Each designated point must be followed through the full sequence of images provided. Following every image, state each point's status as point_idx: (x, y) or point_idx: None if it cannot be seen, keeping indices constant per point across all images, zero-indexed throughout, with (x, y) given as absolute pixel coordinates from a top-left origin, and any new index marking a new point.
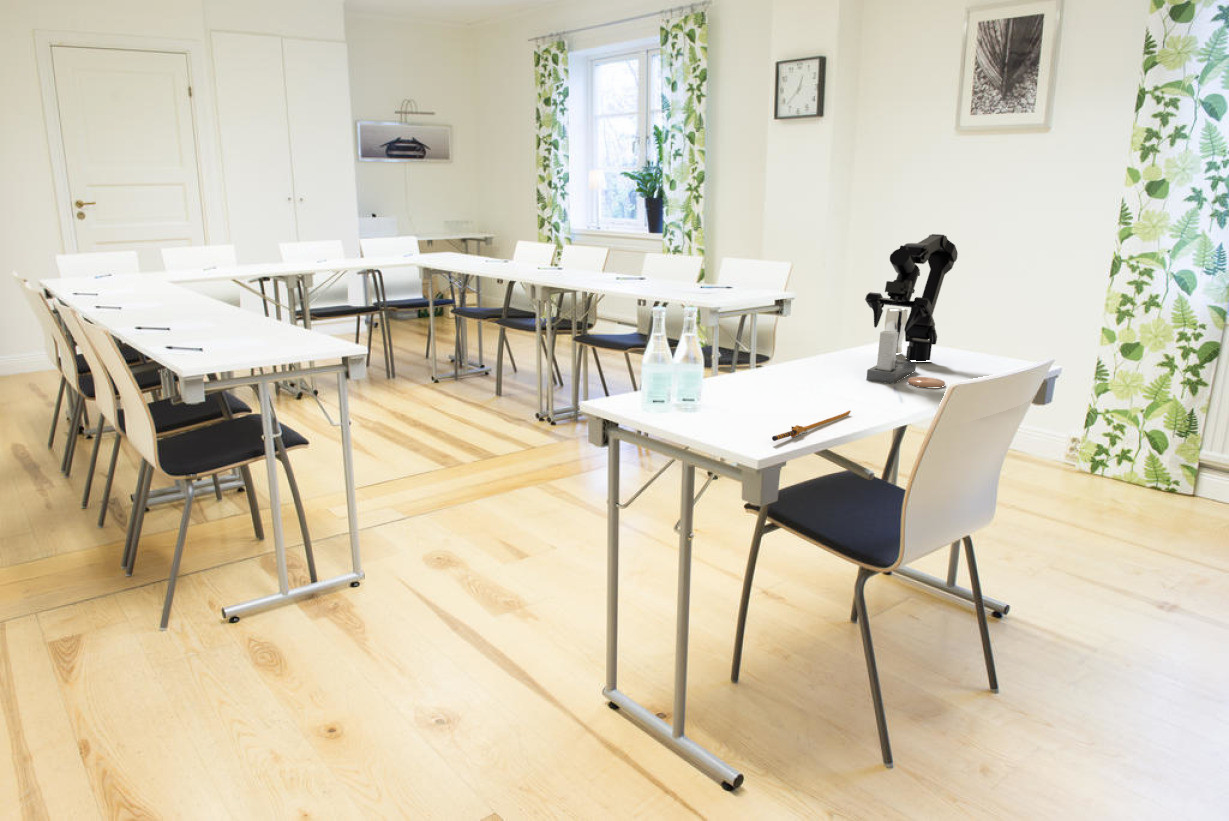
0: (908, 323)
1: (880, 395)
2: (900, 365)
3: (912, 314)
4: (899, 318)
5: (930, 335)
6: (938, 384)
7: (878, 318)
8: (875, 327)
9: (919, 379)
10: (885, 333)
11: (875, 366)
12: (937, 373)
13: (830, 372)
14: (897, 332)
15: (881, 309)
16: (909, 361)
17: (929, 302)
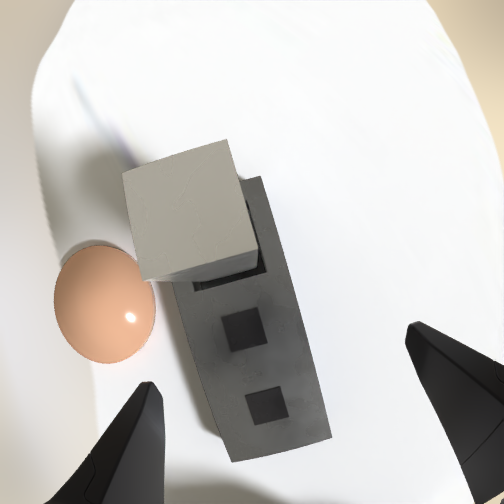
0: (115, 422)
1: (128, 80)
2: (229, 367)
3: (74, 493)
4: None
5: None
6: (57, 287)
7: (448, 399)
8: (408, 337)
9: (119, 305)
10: (186, 152)
11: (280, 259)
12: (180, 472)
13: (398, 186)
14: (139, 258)
15: (491, 487)
16: (255, 455)
17: None
